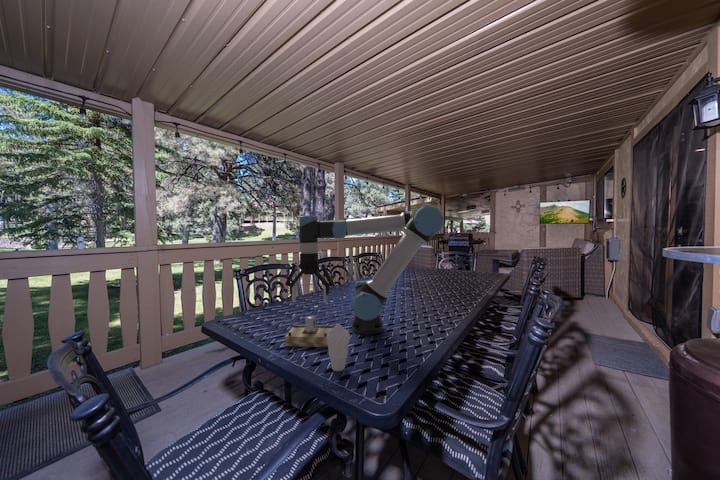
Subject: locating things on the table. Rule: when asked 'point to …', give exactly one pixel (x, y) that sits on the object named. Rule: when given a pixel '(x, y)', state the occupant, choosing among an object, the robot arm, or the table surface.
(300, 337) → the plate
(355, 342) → the table surface
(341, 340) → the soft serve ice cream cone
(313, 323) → the grey metal peg
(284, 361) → the table surface
